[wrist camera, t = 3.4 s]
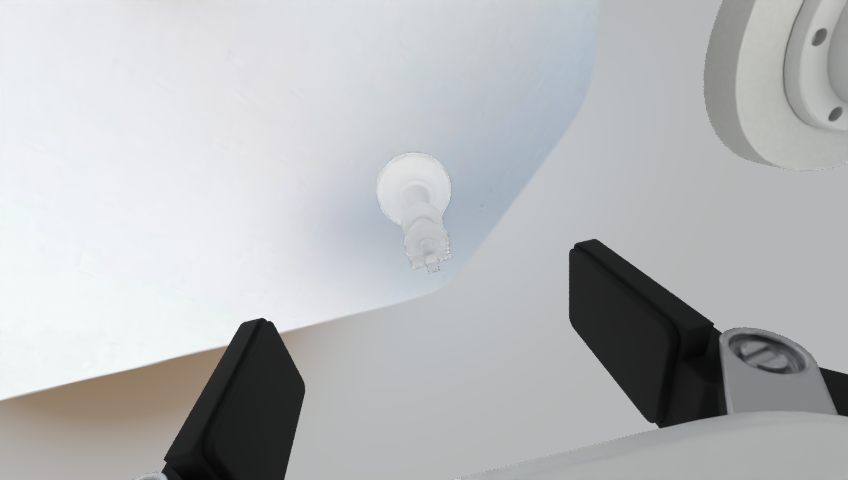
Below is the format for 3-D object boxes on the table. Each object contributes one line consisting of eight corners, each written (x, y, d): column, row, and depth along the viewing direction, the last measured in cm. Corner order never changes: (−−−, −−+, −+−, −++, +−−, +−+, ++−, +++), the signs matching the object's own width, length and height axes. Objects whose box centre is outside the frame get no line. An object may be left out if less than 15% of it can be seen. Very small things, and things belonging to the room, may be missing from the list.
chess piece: (364, 166, 21) (347, 232, 12) (439, 141, 20) (480, 189, 12) (390, 233, 23) (393, 332, 14) (458, 211, 23) (505, 297, 14)
